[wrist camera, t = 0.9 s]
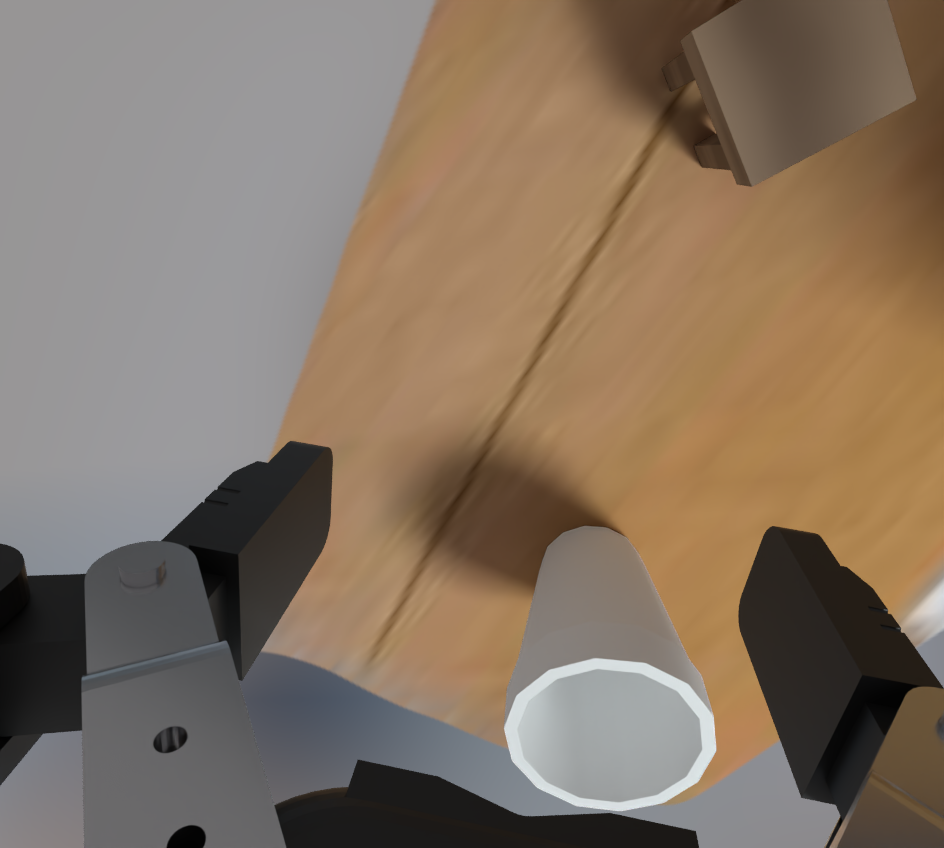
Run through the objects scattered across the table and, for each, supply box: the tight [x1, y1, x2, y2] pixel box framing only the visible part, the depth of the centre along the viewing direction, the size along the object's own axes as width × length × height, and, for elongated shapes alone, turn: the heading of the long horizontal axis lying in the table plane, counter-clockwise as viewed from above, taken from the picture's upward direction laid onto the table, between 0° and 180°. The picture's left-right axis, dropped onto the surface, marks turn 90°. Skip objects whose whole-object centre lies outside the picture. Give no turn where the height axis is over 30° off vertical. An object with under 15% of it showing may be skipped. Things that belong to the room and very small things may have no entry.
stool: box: [662, 0, 917, 187], centre depth 25 cm, size 6×6×9 cm
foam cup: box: [504, 526, 716, 811], centre depth 35 cm, size 10×9×13 cm
